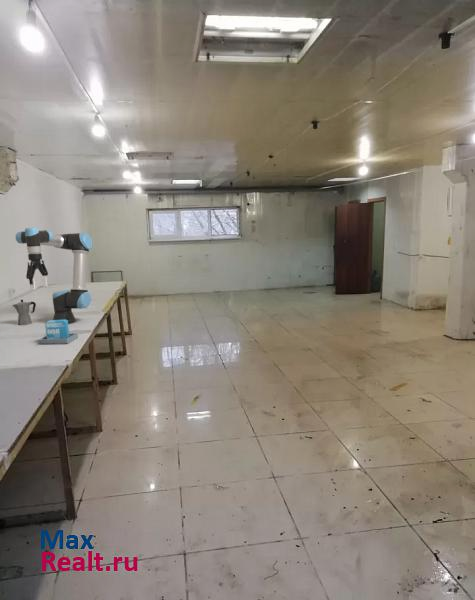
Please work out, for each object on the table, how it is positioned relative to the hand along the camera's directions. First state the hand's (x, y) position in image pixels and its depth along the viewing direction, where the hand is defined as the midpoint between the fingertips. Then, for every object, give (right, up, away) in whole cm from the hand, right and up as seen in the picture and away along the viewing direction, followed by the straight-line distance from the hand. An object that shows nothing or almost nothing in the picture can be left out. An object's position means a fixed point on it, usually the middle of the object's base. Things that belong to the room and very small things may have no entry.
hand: (39, 287), depth 262 cm
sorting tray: (+14, -33, -5) cm, 36 cm away
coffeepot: (-32, -25, +48) cm, 63 cm away
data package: (+14, -32, -5) cm, 36 cm away
